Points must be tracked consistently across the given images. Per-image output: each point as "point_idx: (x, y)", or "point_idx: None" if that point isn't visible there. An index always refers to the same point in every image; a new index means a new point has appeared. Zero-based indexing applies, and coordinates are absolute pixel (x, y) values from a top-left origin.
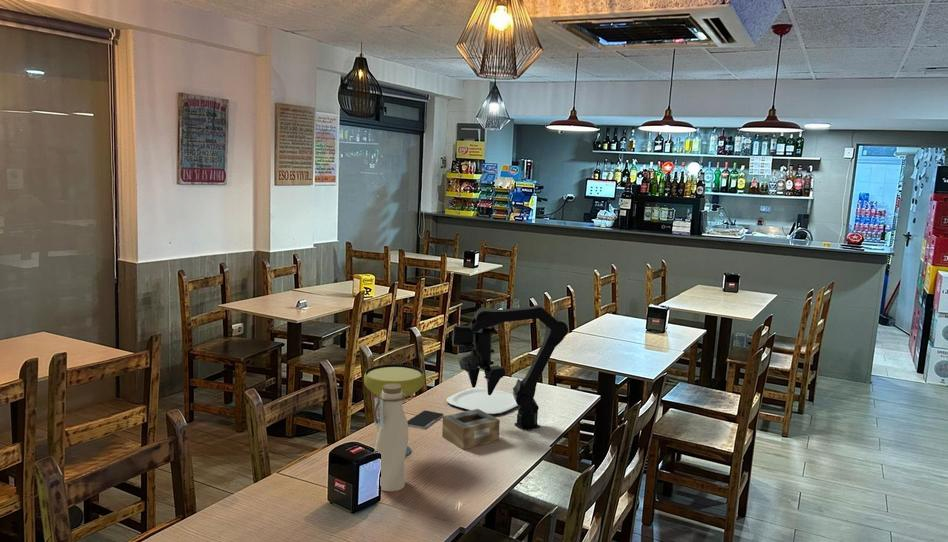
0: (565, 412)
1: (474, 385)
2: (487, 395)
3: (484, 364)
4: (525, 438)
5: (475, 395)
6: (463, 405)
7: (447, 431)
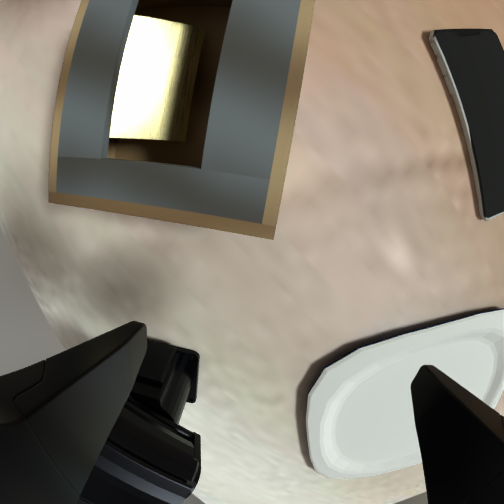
0: None
1: (419, 391)
2: None
3: None
4: (82, 280)
5: None
6: (467, 343)
7: None
